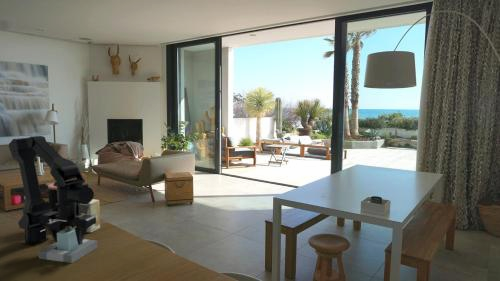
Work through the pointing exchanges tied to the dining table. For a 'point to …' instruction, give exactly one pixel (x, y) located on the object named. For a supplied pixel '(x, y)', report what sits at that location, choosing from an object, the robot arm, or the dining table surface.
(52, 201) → the coffee jar
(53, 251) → the socket block
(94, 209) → the skincare box
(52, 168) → the robot arm
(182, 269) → the dining table surface
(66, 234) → the plug
